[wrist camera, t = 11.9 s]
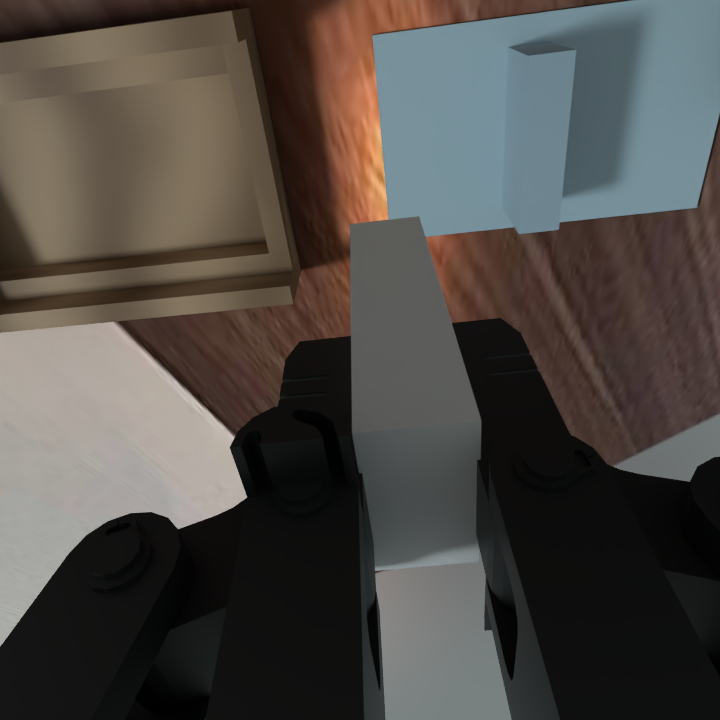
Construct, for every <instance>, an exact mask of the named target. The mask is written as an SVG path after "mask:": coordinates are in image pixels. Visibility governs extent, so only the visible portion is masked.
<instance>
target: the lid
mask: <svg viewBox="0 0 720 720" xmlns="http://www.w3.org/2000/svg"><path fill="white" fill-rule="evenodd" d="M373 46H374V57H375V69H376V80H377V91H378V103H379V114H380V126H381V137H382V148H383V160H384V171H385V182H386V194H387V205H388V216H389V220H391V219H399V218H408V217H416V216H419V217H420V221H421V224H422V227H423V230H424V234H425V237H427V236H436V235H445V234H455V233H464V232H473V231H483V230H492V229H501V228H511V227H515V229H516V230H517V232H518V233H519V234H523V233H533V232H542V231H552V230H559V222H567V221H576V220H585V219H595V218H604V217H613V216H623V215H632V214H641V213H651V212H660V211H669V210H679V209H688V208H697V204H698V200H699V196H700V192H701V188H702V184H703V180H704V176H705V172H706V167H707V163H708V159H709V155H710V151H711V147H712V143H713V139H714V135H715V131H716V127H717V122H718V118H719V114H720V0H629V1H622V2H614V3H607V4H600V5H592V6H585V7H577V8H570V9H562V10H555V11H547V12H540V13H532V14H525V15H518V16H510V17H503V18H495V19H488V20H480V21H473V22H465V23H458V24H450V25H443V26H436V27H428V28H421V29H413V30H406V31H398V32H391V33H383V34H376V35H373Z"/></svg>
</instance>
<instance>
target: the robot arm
mask: <svg viewBox="0 0 720 720" xmlns="http://www.w3.org/2000/svg"><path fill="white" fill-rule="evenodd" d="M350 281H351V336H347V337H338V338H329V339H319V340H310V341H301V342H299V343H298V345H297V346H296V347H295V348H294V350H293V351H292V352H291V354H290V355H289V356H288V357H287V359H286V360H285V367H284V373H283V379H282V380H283V383H282V385H281V391H280V400H279V403H278V407H273V408H271V409H269V410H267V411H265V412H263V413H261V414H259V415H257V416H255V417H253V418H252V419H251V420H250V421H249V422H248V423H247V424H246V425H244V426H243V427H242V428H241V429H240V430H239V431H238V433H237V435H236V437H235V438H234V440H233V442H232V444H231V446H230V449H231V452H232V455H233V458H234V461H235V463H236V466H237V469H238V472H239V475H240V478H241V480H242V483H243V486H244V489H245V492H246V495H247V498H246V499H245V500H243V501H242V502H240V503H239V504H238V505H236V506H235V507H233V508H231V509H229V510H227V511H225V512H223V513H221V514H219V515H216V516H214V517H211V518H208V519H205V520H203V521H200V522H197V523H195V524H192V525H189V526H186V527H184V528H181V529H177V528H176V527H175V526H174V524H173V523H172V522H171V521H170V520H169V519H168V518H167V517H164V516H161V515H158V514H155V513H152V512H146V513H130V514H127V515H125V516H122V517H119V518H116V519H113V520H111V521H108V522H106V523H105V524H103V525H102V526H100V527H99V528H97V529H95V530H94V531H92V532H91V533H89V534H88V535H86V536H85V537H84V538H83V540H82V541H81V542H80V543H79V544H78V545H77V546H76V547H75V548H74V549H73V550H72V551H71V552H70V553H69V554H68V556H67V557H66V558H65V560H64V561H63V562H62V564H61V565H60V567H59V568H58V569H57V571H56V572H55V573H54V575H53V576H52V577H51V579H50V580H49V581H48V583H47V584H46V586H45V587H44V588H43V590H42V591H41V592H40V594H39V595H38V596H37V598H36V599H35V600H34V602H33V603H32V605H31V606H30V607H29V609H28V610H27V611H26V613H25V614H24V615H23V617H22V618H21V619H20V621H19V622H18V624H17V625H16V626H15V628H14V629H13V630H12V632H11V633H10V634H9V636H8V637H7V638H6V640H5V641H4V643H3V644H2V645H1V647H0V720H385V704H384V686H383V668H382V649H381V632H380V631H381V630H380V611H379V604H378V599H377V593H376V583H375V571H377V570H389V569H401V568H413V567H424V566H436V565H448V564H458V563H471V562H478V561H479V548H480V552H481V556H482V561H483V565H484V569H485V574H486V586H485V613H484V617H485V618H484V619H485V630H492V632H493V636H494V640H495V645H496V650H497V655H498V659H499V664H500V668H501V673H502V677H503V681H504V686H505V691H506V695H507V700H508V705H509V709H510V713H511V718H512V720H720V457H714V458H712V459H710V460H709V461H707V462H705V463H703V464H701V465H700V466H698V467H697V469H696V471H695V473H694V475H693V477H692V479H691V481H690V482H687V481H680V480H674V479H667V478H661V477H654V476H648V475H641V474H636V473H632V472H628V471H623V470H620V469H617V468H615V467H612V466H610V465H607V464H606V463H605V461H604V460H603V459H602V458H601V456H600V455H599V454H598V453H597V452H596V450H595V449H594V448H593V447H591V446H589V445H588V444H586V443H584V442H583V441H581V440H580V439H578V438H576V437H574V436H571V434H570V433H569V431H568V429H567V427H566V425H565V423H564V421H563V419H562V417H561V415H560V413H559V411H558V409H557V407H556V405H555V403H554V401H553V398H552V396H551V394H550V392H549V390H548V388H547V386H546V384H545V382H544V380H543V378H542V376H541V374H540V372H538V371H537V366H536V364H535V362H534V360H533V358H532V356H531V355H530V353H529V350H528V348H527V345H526V343H525V341H524V339H523V337H522V335H521V333H520V332H519V331H517V330H516V329H514V328H513V327H512V326H510V325H509V324H508V323H506V322H505V321H504V320H502V319H501V318H496V319H487V320H477V321H468V322H459V323H452V322H451V319H450V316H449V312H448V309H447V306H446V303H445V299H444V296H443V293H442V290H441V286H440V283H439V280H438V276H437V273H436V270H435V267H434V263H433V260H432V257H431V253H430V250H429V247H428V244H427V240H426V237H425V234H424V230H423V227H422V224H421V221H420V217H419V216H416V217H408V218H399V219H391V220H382V221H374V222H366V223H357V224H350Z"/></svg>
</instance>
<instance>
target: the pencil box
mask: <svg viewBox="0 0 720 720" xmlns="http://www.w3.org/2000/svg"><path fill="white" fill-rule="evenodd" d="M300 273H301V269H300V263H299V258H298V253H297V248H296V243H295V238H294V233H293V227H292V222H291V217H290V212H289V207H288V202H287V196H286V191H285V186H284V181H283V176H282V171H281V166H280V160H279V155H278V150H277V145H276V140H275V135H274V129H273V124H272V119H271V114H270V109H269V104H268V99H267V93H266V88H265V83H264V78H263V73H262V68H261V62H260V57H259V52H258V47H257V42H256V37H255V32H254V26H253V21H252V16H251V11H250V8H243V9H235V10H228V11H221V12H214V13H207V14H200V15H192V16H185V17H178V18H171V19H164V20H157V21H149V22H142V23H135V24H128V25H121V26H113V27H106V28H99V29H92V30H85V31H78V32H70V33H63V34H56V35H49V36H42V37H35V38H27V39H20V40H13V41H6V42H0V333H1V332H12V331H22V330H32V329H42V328H53V327H63V326H73V325H83V324H94V323H104V322H114V321H125V320H135V319H145V318H155V317H166V316H176V315H186V314H196V313H207V312H217V311H227V310H237V309H248V308H258V307H268V306H278V305H289V304H293V303H294V299H295V294H296V290H297V286H298V281H299V277H300Z"/></svg>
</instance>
